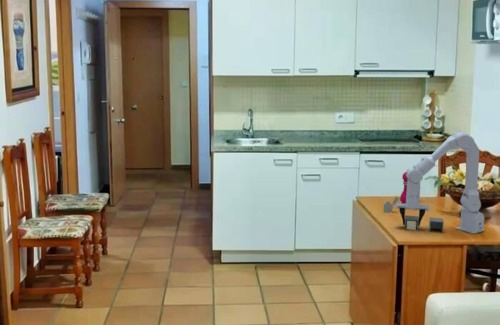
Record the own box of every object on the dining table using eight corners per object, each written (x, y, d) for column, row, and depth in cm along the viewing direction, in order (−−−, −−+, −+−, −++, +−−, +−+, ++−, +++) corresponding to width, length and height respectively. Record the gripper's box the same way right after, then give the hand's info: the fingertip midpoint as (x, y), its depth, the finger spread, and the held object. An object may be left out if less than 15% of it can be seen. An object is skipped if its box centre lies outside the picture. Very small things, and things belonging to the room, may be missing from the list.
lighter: (383, 212, 293) (384, 196, 292) (383, 211, 295) (384, 195, 293) (398, 212, 293) (399, 196, 291) (397, 211, 294) (398, 196, 293)
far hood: (404, 225, 270) (405, 215, 269) (417, 226, 268) (418, 216, 267) (404, 229, 264) (405, 218, 263) (417, 230, 263) (418, 219, 262)
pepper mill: (414, 209, 299) (416, 170, 295) (399, 208, 300) (401, 169, 297) (413, 206, 306) (415, 167, 302) (399, 205, 307) (401, 167, 304)
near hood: (428, 228, 266) (429, 217, 266) (442, 229, 265) (443, 218, 264) (429, 231, 261) (429, 220, 260) (442, 232, 259) (443, 221, 259)
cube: (406, 226, 268) (407, 218, 268) (415, 227, 267) (416, 218, 267) (406, 229, 265) (407, 220, 264) (415, 230, 264) (416, 221, 263)
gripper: (396, 196, 261) (394, 226, 264) (430, 198, 258) (428, 228, 260) (396, 192, 268) (394, 221, 271) (430, 195, 264) (428, 224, 267)
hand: (411, 225), depth 266 cm, fingers closed on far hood, 6 cm apart
